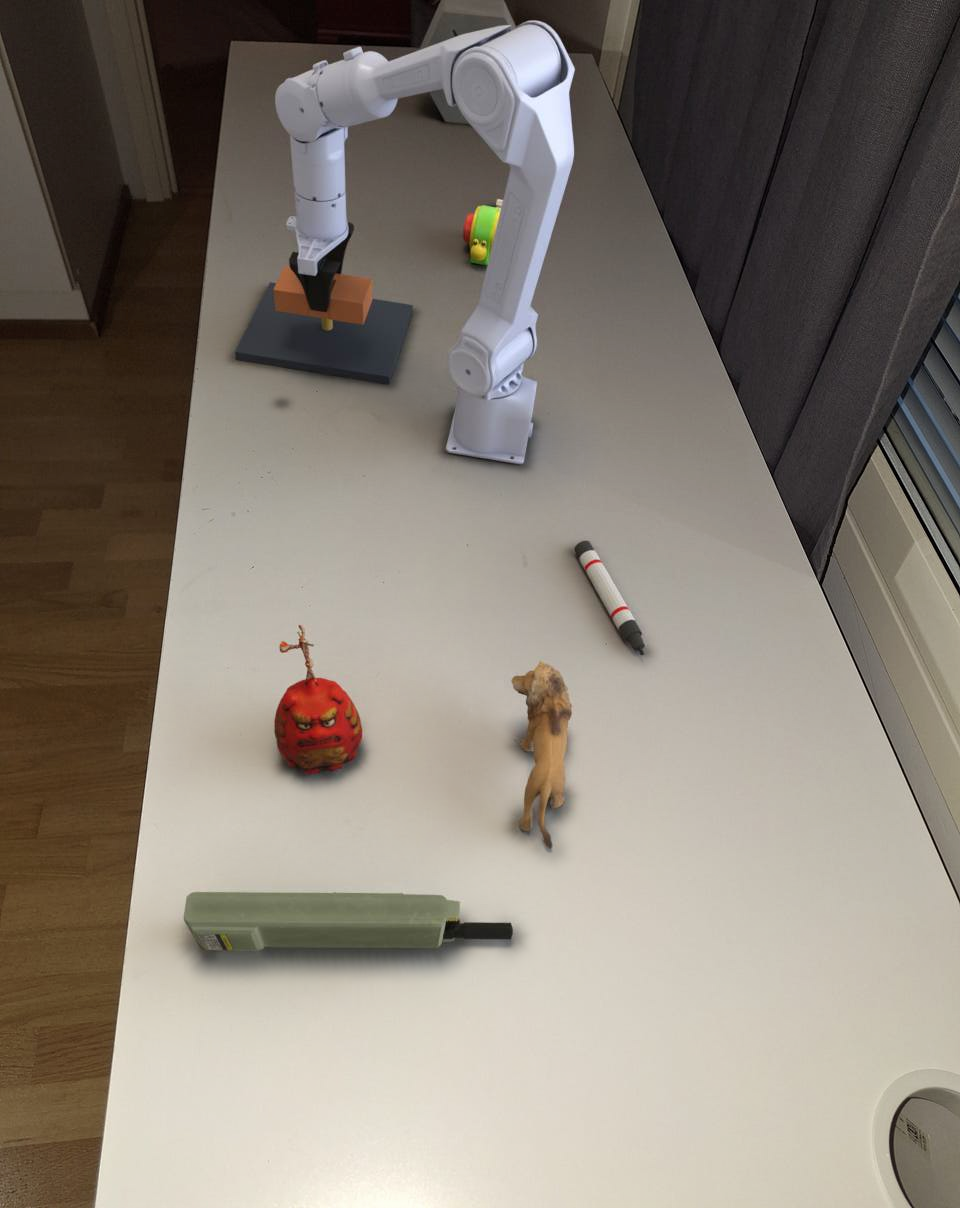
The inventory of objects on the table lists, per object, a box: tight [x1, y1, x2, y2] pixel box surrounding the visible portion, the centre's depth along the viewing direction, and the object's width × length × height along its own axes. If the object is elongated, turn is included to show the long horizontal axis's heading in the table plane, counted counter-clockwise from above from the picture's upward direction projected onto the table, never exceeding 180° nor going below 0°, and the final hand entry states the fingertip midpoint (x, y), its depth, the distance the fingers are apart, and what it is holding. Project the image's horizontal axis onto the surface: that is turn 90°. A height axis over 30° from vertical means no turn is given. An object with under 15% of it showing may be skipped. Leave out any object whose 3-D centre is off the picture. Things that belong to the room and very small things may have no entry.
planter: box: [418, 0, 517, 125], centre depth 156 cm, size 17×8×21 cm
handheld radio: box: [183, 891, 514, 952], centre depth 70 cm, size 7×3×25 cm
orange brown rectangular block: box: [273, 264, 373, 325], centre depth 111 cm, size 11×5×3 cm, turn 82°
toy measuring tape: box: [462, 198, 503, 266], centre depth 136 cm, size 6×19×7 cm, turn 166°
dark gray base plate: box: [234, 282, 414, 385], centre depth 118 cm, size 20×16×6 cm
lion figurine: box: [510, 660, 573, 849], centre depth 80 cm, size 15×5×9 cm, turn 6°
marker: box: [573, 540, 646, 656], centre depth 95 cm, size 15×2×2 cm, turn 20°
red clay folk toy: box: [273, 624, 363, 776], centre depth 77 cm, size 8×7×15 cm
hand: (325, 295), depth 111 cm, fingers closed on orange brown rectangular block, 5 cm apart
